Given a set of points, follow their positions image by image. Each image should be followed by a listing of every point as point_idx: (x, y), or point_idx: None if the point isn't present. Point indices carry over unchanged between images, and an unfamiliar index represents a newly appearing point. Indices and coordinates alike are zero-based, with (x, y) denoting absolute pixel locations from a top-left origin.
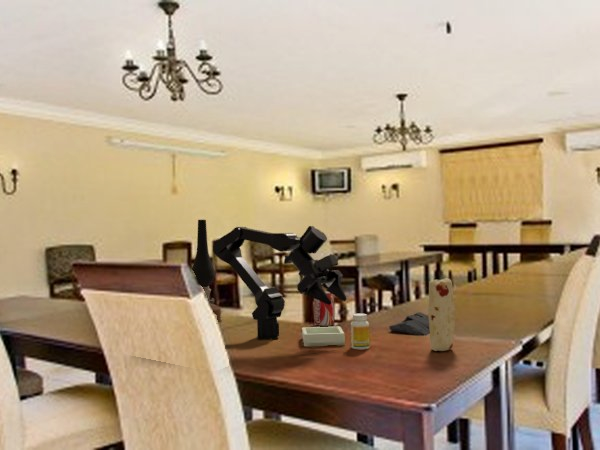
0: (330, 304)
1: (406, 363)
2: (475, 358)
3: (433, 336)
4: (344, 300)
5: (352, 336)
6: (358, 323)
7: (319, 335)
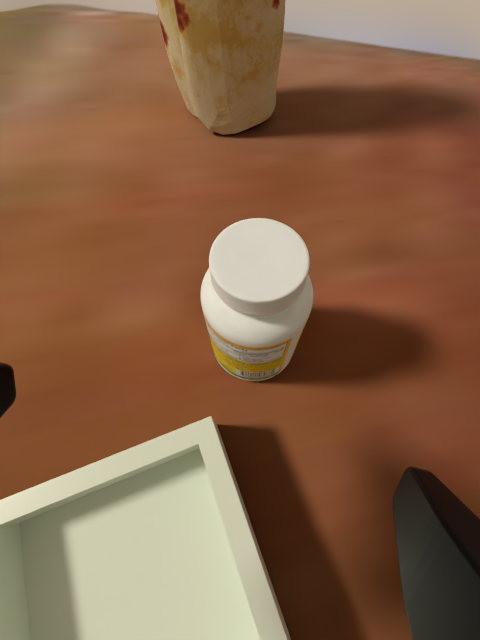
0: (400, 489)
1: (433, 170)
2: (302, 58)
3: (273, 75)
4: (10, 394)
5: (291, 350)
6: (307, 283)
7: (268, 587)
